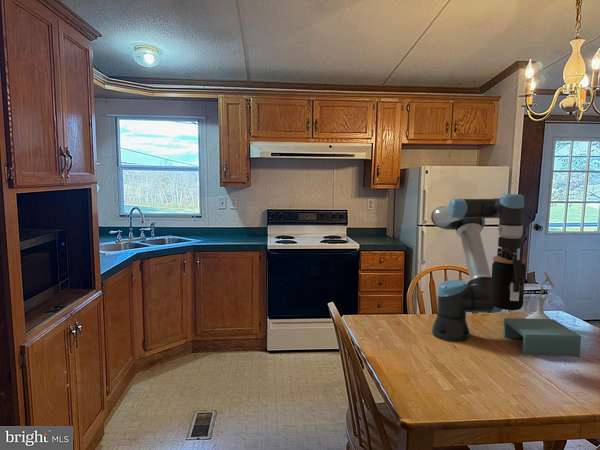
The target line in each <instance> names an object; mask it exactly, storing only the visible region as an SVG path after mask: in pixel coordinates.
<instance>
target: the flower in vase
mask: <svg viewBox="0 0 600 450" xmlns="http://www.w3.org/2000/svg"><path fill="white" fill-rule="evenodd" d="M543 275H544V276H545V280H544V281H543V282H542V284H541V286H540V291H538V293H539V294H535V295H534V298H536V300H537V301H536V302H537V310H536V311H535V312H533V313H531V314H529V315H528V316H526V317H525V319H551V318H550V317H549V316H548V315H547V314H546V313H545V312H544V306H545V301H546V299H548V296H547V295H544V294H542V293H544V292H546V290H544V287H543V285H545V283H546V282H548V283H549V285H550V286H551V288H554V287H555V285H554V284H553V282H552V281H551V279H550V276H549V275H548V274H547V272H546V271H543Z"/></svg>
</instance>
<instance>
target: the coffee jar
mask: <svg viewBox="0 0 600 450" xmlns="http://www.w3.org/2000/svg"><path fill="white" fill-rule="evenodd" d="M492 261H493V262H492V266H491V277H492V279H491V299H490V301H491V303H492V305H493V306H494V307H497V308H500V309H502V310H505V311H519V310H521V309H522V308H523V306H524V298H525V297H524V295H525V280H526V277H525V276H526V265H525V263H526V261H527V259H525V258H523V257H522V268H523V277H524V282H523V283H520V288H519V301H510V288H511V283H510V282H511V281H512V278H511V274H512V271H514V266H513V260H507V259H506V258H502V257H501V256H497V255H496V256H495V255H494V256H493V257H492Z"/></svg>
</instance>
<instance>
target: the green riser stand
mask: <svg viewBox="0 0 600 450" xmlns="http://www.w3.org/2000/svg"><path fill="white" fill-rule="evenodd" d="M502 330H503V331H502V337H503V338H507V339H508V338H509V339H512V338H513V339H514V338H515V339H522V354H523V355H524V356H525V355H526V356H558V357H580V355H581V343H582V335H580V334H579V333H577V332H576V331H573V330H572V329H571V328H569V327H567V326H565V325H564V324H562V323H560V322H558V321H557V320H555V319H554V318H550V319H526V318H519V317H518V318H517V317H515V318H514V317H512V318H511V317H504V318H503V329H502Z"/></svg>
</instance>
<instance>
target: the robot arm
mask: <svg viewBox="0 0 600 450" xmlns="http://www.w3.org/2000/svg"><path fill="white" fill-rule="evenodd" d="M524 211H525V196H524V195H523V194H517V193H516V194H514V193H512V194H511V193H509V194H506V193H505V194H504V193H503V194H502V195H500V198H499V197H498V198H497V197H496V198H453V199H451V200H450V201H449V204H448V205H441V206H438V207H436V208H434V209H433V210H432V212H431V215H430V219H431V222H432V224H433V225H434V226H435V227H437V228H439V229H442V230H447V231H448V230H451V231H453V230H454V231H455V232H456V233H455V234H456V236H458V237H460V240H461V244H462V249H463V254H464V258H465V263H466V267H467V272H468V276H469V280H468V281H465V280H458V279H451V280H450V279H449V280H445V281H442V282H440V283H439V284H438V286H437V292H436V293H437V294H436V295H437V301H436V304H437V305H436V317H435V320H434V322H433V325H432V327H431V334H432V335H433V336H434V337H436V338H437V339H440V340H444V341H448V342H465V341H466V342H467V340H468V341H469V339H470V334H471V333H470V332H471V331H470V329H469V324H468V323H467V313H484V314H493V313H494V314H495V313H500V312H501V311H503V309H500V308H497V307H494V306H493V305H492V303H491V301H490V299H491V279H492V273H491V271H490V268H489V263H488V259H487V255H486V251H485V248H484V244H483V240H482V236H481V233H482V231H483V229H484V227H485V226H486V225H485V224H486V220H485V219H499V222H498V226H499V227H498V228H497V230H498V235H499V237H498V238H497V242H498V243H497V246H498V247H497V251H496V252H497V254H496V256H501V257H502V258H506V259H507V260H513V266H514V271H512V274H511V278H512V281H511V282H510V283H511V288H510V301H519V288H520V283H523V282H524V277H523V268H522V258H523V254H522V253H518V249H521V248H522V242H523V241H522V240H523V239H522V236H523V229H524V224H523V223H524ZM524 283H525V282H524Z"/></svg>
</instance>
